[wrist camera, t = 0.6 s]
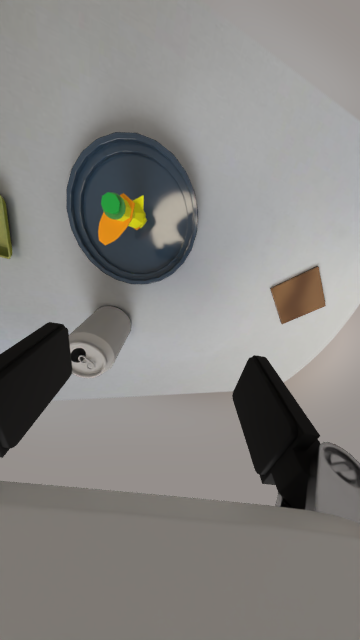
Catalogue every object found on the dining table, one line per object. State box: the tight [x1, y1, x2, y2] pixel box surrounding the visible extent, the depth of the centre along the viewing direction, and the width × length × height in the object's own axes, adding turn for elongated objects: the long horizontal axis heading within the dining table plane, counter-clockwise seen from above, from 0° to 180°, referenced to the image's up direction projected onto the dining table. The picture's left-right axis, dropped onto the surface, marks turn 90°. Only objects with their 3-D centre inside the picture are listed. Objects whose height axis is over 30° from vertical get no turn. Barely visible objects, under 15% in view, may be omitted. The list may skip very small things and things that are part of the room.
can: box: [69, 306, 131, 378], centre depth 29 cm, size 8×8×12 cm
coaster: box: [270, 267, 326, 324], centre depth 31 cm, size 8×8×1 cm
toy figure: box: [98, 192, 147, 245], centre depth 20 cm, size 7×4×12 cm, turn 140°
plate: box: [67, 132, 198, 284], centre depth 25 cm, size 18×18×2 cm
